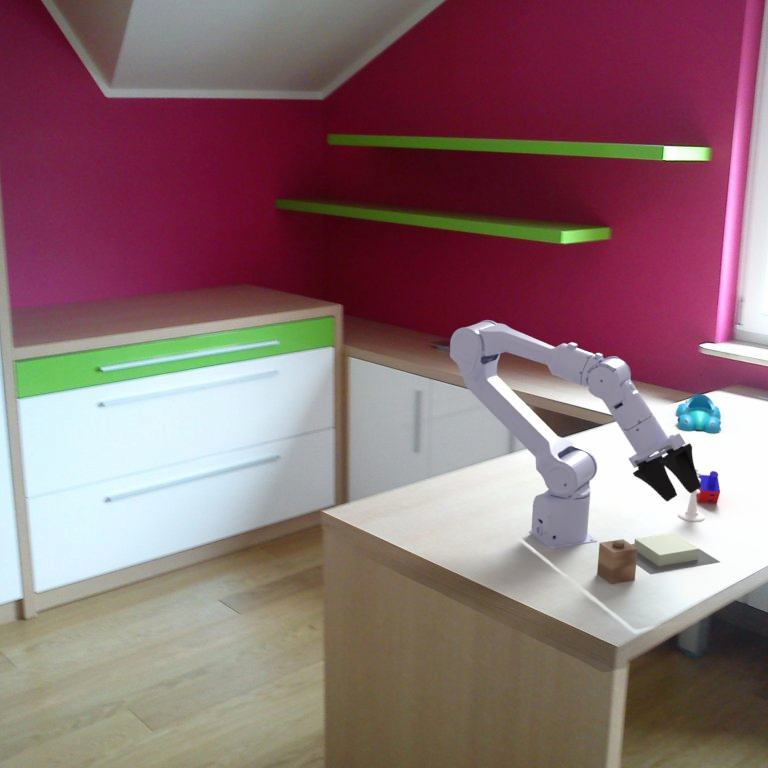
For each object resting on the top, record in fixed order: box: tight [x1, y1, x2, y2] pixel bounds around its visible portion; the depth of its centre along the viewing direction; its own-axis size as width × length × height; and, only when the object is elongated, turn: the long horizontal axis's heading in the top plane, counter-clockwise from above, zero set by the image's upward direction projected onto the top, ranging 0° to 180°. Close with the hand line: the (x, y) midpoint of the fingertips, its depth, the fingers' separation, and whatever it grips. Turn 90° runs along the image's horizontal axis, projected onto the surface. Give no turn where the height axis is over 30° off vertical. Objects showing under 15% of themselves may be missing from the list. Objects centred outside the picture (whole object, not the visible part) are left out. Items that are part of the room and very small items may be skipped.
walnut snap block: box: [596, 539, 637, 585], centre depth 160 cm, size 4×4×6 cm
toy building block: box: [696, 470, 721, 505], centre depth 194 cm, size 4×4×8 cm
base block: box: [633, 532, 700, 566], centre depth 169 cm, size 8×7×2 cm
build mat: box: [630, 543, 721, 575], centre depth 169 cm, size 14×11×1 cm
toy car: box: [675, 394, 722, 434], centre depth 246 cm, size 11×18×7 cm, turn 164°
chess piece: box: [677, 468, 706, 523], centre depth 184 cm, size 5×5×10 cm
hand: (683, 494), depth 162 cm, fingers open, 7 cm apart
